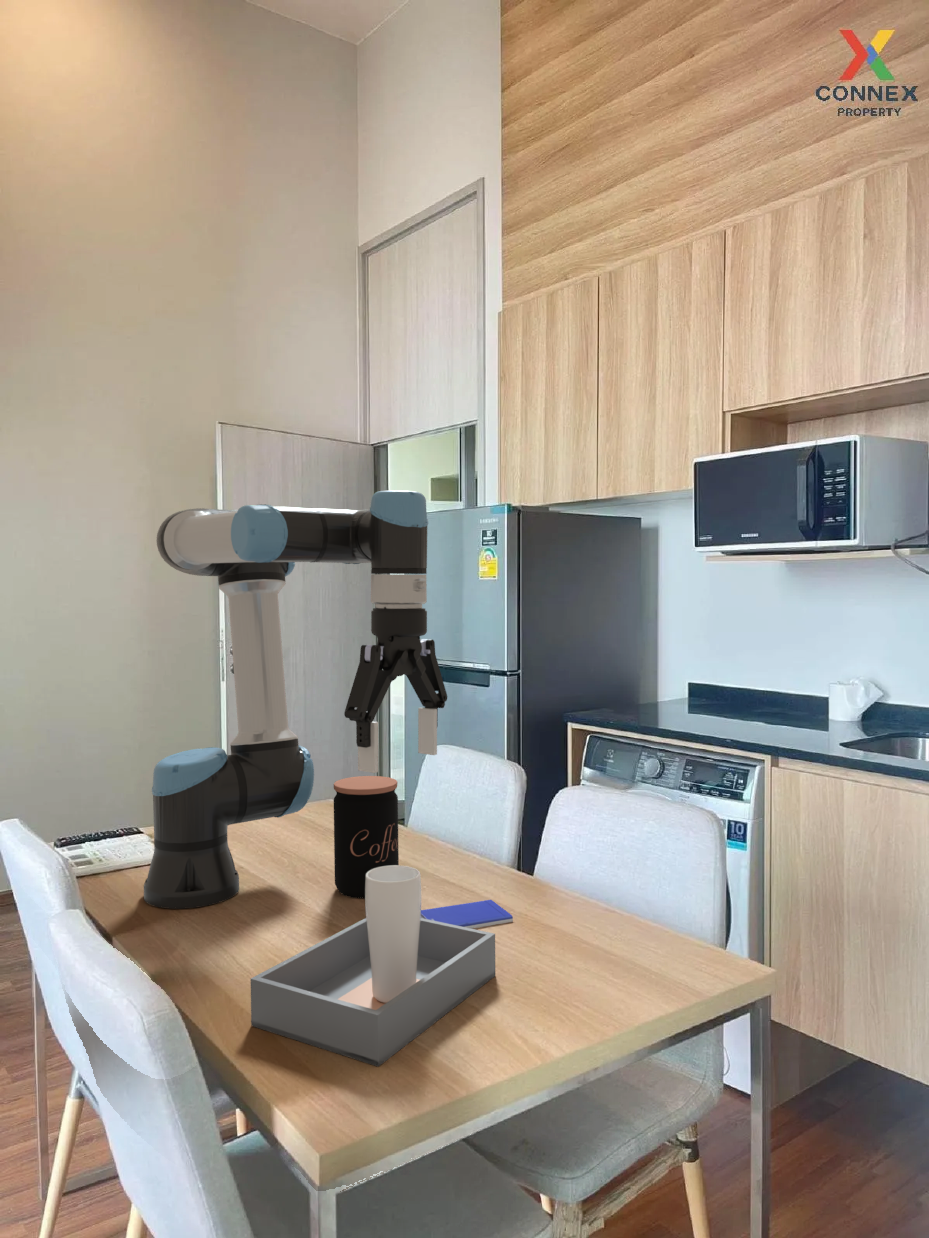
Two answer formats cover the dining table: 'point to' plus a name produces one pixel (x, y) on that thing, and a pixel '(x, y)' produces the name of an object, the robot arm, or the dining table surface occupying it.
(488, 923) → the hard drive
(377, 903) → the drinking glass
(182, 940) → the dining table surface
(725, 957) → the dining table surface
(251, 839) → the dining table surface
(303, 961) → the walled box
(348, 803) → the coffee jar
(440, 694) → the robot arm
